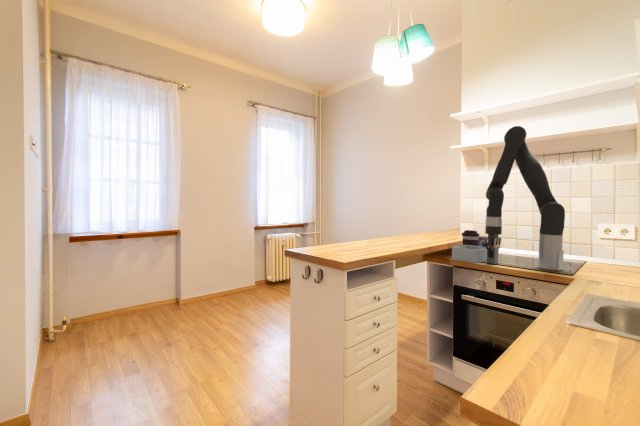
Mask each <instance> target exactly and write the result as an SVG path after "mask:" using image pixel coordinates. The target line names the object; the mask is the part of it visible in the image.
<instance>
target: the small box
mask: <svg viewBox="0 0 640 426" xmlns="http://www.w3.org/2000/svg"><path fill="white" fill-rule="evenodd" d="M485 239H488V236H481V235H479V236H478V246H480V247H486V245H485Z"/></svg>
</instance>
